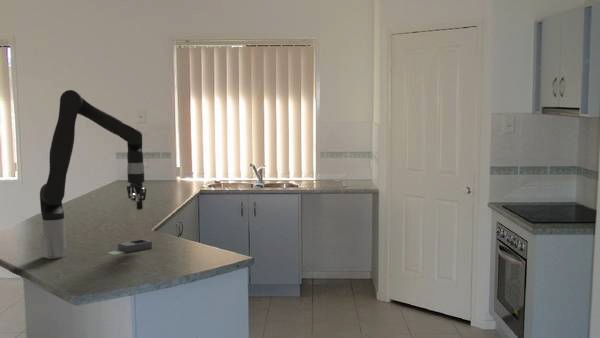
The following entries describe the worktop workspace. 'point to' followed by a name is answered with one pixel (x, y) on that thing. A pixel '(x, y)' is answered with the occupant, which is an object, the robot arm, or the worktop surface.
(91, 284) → the worktop surface
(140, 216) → the beige rectangular block
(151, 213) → the worktop surface
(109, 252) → the mat
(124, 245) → the grey holder tray
